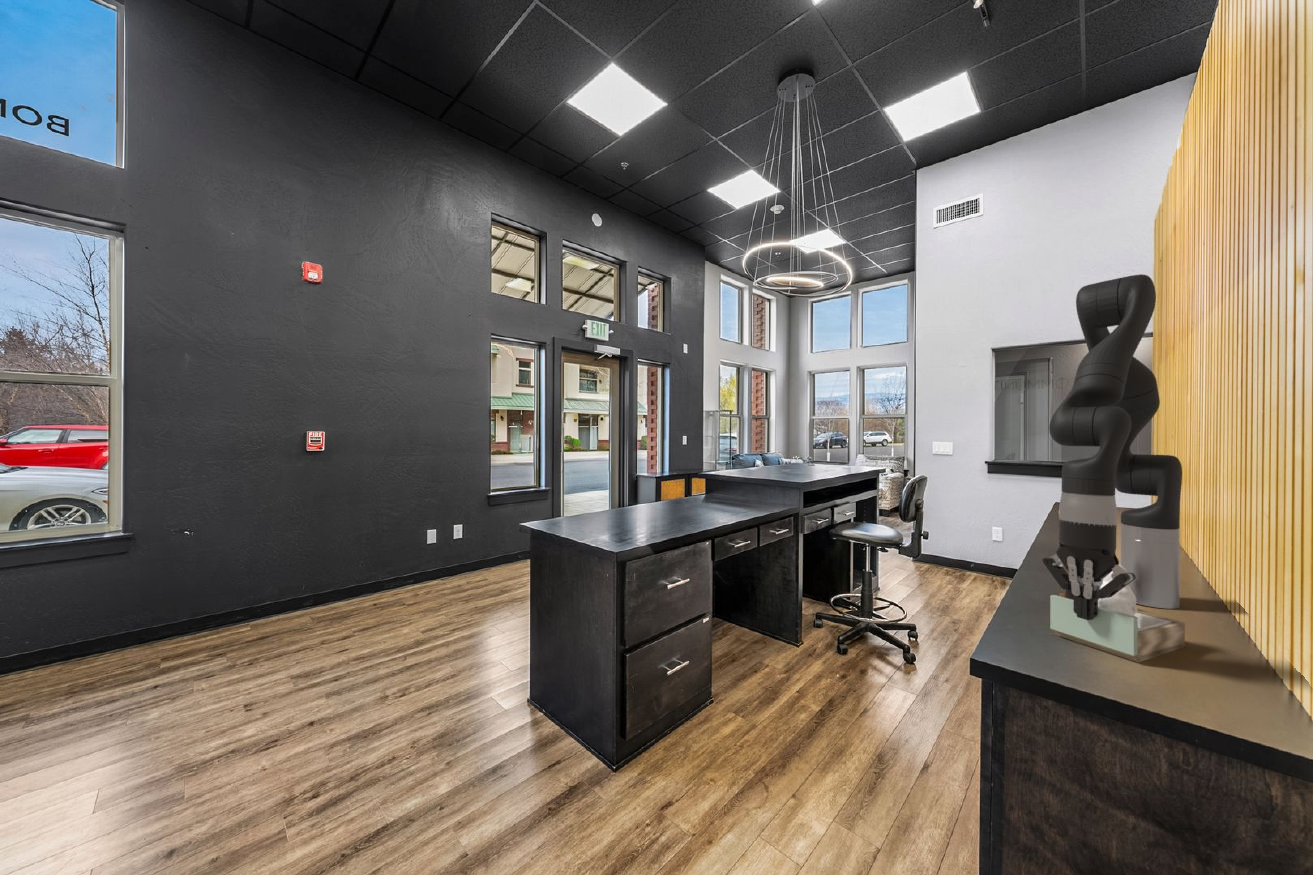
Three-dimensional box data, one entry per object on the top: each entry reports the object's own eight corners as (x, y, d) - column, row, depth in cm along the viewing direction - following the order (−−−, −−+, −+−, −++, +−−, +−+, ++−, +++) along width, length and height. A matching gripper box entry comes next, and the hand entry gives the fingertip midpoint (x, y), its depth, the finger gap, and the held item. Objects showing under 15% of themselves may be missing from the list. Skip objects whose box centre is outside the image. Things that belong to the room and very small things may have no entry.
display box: (1138, 662, 78) (1138, 635, 78) (1053, 634, 90) (1053, 610, 90) (1184, 647, 84) (1184, 622, 84) (1099, 622, 95) (1099, 600, 95)
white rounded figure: (1088, 630, 86) (1088, 565, 86) (1092, 618, 92) (1092, 556, 92) (1137, 641, 82) (1137, 572, 82) (1138, 628, 88) (1138, 563, 88)
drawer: (1133, 655, 78) (1133, 618, 78) (1050, 628, 89) (1050, 595, 89) (1178, 641, 83) (1179, 606, 83) (1095, 617, 95) (1095, 586, 95)
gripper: (1148, 525, 79) (1146, 630, 78) (1056, 513, 91) (1054, 604, 91) (1123, 526, 76) (1121, 635, 76) (1032, 514, 88) (1030, 607, 88)
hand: (1085, 618), depth 83 cm, fingers closed
